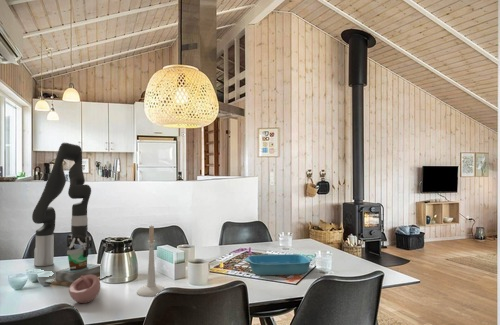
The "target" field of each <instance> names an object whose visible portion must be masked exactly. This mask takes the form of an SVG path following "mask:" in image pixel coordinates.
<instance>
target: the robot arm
mask: <svg viewBox="0 0 500 325" xmlns="http://www.w3.org/2000/svg"><path fill="white" fill-rule="evenodd" d="M64 160H66V161H71V162H74V164H73V165H72V166H71V167H70V169H69V170H68V179H69V188H68V191H67V192H68V193H67V194H68V196H69V198H70V199H73V200H76V199H82V200H81V201H80V202H77V203H73V204H72V206H71V220H70V221H71V222H70V225H71V226H70V227H71V228H70V231H71V233H70V234H68V235H67V236H66V247H67V248H69V250H75V249H76V248H75V247H76V246H77V245H79V246H81V248H83V249H84V257H87V258H88V257H89V251H88V250H90V249H92V248H93V238H92V236H91V235H90V236H87V234H88V231H89V230H88V229H89V228H88V225H89V224H88V221H89V220H88V204H89V202H90V201H89V200H90V197H91V194H92V188H91V186H90V185H89V184H85V183H86V182H85V179H86V178H85V175H84V171H83V150H82V147H81V145H78V144H74V143H69V142H62V143H61V144H60V146H59V148H58V151H57V153H56V158H55V161H54V164H53V167H52V169H51V171H50V174H49V176H48V179H47V181H46V183H45V185H44V188H43V191H42V193H41V195H40V198H39V200H38V202H37V204H36V206H35V208H34V209H33V210H32V215H31V218H32V221H33V223H34V224H38V225H39V224H41V225H42V226H41V227H39V228H38V229H36V231H35V248H34V249H33V250H34V251H33V253H34V255H33V257H34V260H33V261H34V262H33V265H35V266H36V267H45V266H46V267H48V266H52V265H53V264H54V256H55V255H54V252H55V250H54V248H55V247H54V246H55V243H54V238H55V237H54V236H55V234H54V233H55V229H56V219H57V218H56V216H57V215H56V211H55V208H54V207H52V206H49V205H50V204H51V203H52V202H53V201H54V200H56V199H57V198H58V197H59V196H60V195H61V194H62V192H63V190H64V188H65V186H66V183H67V178H66V177H67V176H66V174H65V172H64V168H63V167H64V166H63V163H64ZM85 246H86V247H85Z"/></svg>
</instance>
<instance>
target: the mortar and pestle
mask: <svg viewBox="0 0 500 325" xmlns="http://www.w3.org/2000/svg"><path fill="white" fill-rule="evenodd" d="M100 290H101V281H100V280H99V279H98V277H97V276H95V275H91V274H90V275H84V276H83V275H82V276H81V277H80V278H78V279H77V280H76V281H74V282H73V283H72V284H71V286H69V288H68V293H69V297H70V298H71V299H72V300H73V301H75V302H77V303H80V304H86V303H89V302H91V301H93V300H94V299H95V298H96V297H97V296H98V295H99V293H100Z"/></svg>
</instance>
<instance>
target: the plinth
mask: <svg viewBox="0 0 500 325" xmlns="http://www.w3.org/2000/svg"><path fill="white" fill-rule="evenodd" d="M101 265H102V264H95V263H94V264H93V263H87V267H86V268H83V269H78V270H70V267H66V268H65V269H60V270H57V271H55V276H54V277H55V279H54V281H53V282H52V284H53V285H59V286H65V287H70V286H71V284H72V283H73V282H74V281H76V280H77V279H78V278H80V277H81V276H82V275H83V276H84V275H90V274H91V275H95V276H97V277H98V279H99V281H100V266H101ZM52 284H51V285H52Z"/></svg>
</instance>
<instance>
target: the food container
mask: <svg viewBox="0 0 500 325" xmlns="http://www.w3.org/2000/svg"><path fill="white" fill-rule="evenodd" d="M85 247H86V246H85ZM89 250H90V249H89ZM89 250H88V252H89ZM66 255H67V259H68V264H69V265H68V266H69V267H68V268H70V270H78V269H83V268H86V267H87V264H88V257H84V249H83V247H81V248H75V250H70V249H68V250H67V251H66Z"/></svg>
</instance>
